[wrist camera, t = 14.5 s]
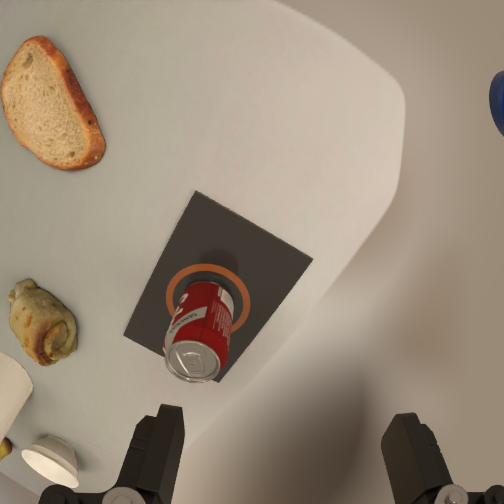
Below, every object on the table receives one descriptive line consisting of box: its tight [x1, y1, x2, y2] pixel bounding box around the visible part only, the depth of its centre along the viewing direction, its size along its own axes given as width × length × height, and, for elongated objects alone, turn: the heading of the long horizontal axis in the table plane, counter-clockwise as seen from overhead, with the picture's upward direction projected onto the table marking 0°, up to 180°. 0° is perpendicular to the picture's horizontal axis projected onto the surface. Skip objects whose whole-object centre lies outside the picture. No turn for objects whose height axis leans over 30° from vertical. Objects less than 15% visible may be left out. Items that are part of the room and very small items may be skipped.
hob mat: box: [124, 191, 313, 383], centre depth 41 cm, size 24×16×1 cm, turn 149°
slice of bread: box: [0, 36, 105, 170], centre depth 30 cm, size 18×18×4 cm
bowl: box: [21, 435, 79, 488], centre depth 55 cm, size 16×16×9 cm
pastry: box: [8, 279, 77, 366], centre depth 40 cm, size 14×12×8 cm
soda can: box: [163, 281, 234, 383], centre depth 36 cm, size 7×7×12 cm
